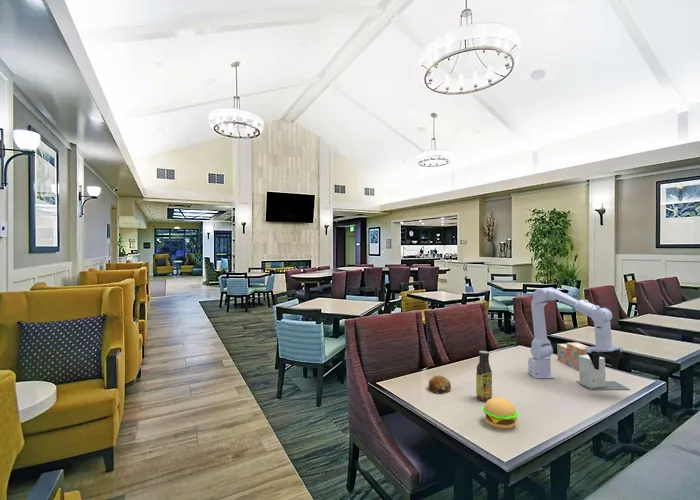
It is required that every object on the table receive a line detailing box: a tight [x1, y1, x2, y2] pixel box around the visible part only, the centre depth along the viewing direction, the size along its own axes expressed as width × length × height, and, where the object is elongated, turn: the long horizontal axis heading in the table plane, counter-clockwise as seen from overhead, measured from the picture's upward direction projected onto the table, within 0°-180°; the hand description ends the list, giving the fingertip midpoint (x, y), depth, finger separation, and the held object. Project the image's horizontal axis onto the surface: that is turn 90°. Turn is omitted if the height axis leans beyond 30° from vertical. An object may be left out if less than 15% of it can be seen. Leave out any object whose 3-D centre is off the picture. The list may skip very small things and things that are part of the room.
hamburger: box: [482, 397, 519, 430], centre depth 126 cm, size 12×12×9 cm
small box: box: [578, 355, 607, 388], centre depth 158 cm, size 8×6×13 cm
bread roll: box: [428, 374, 452, 394], centre depth 158 cm, size 10×10×8 cm
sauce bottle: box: [475, 350, 493, 402], centre depth 147 cm, size 6×6×20 cm
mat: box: [575, 380, 631, 391], centre depth 158 cm, size 18×10×1 cm, turn 86°
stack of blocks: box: [556, 342, 589, 372], centre depth 186 cm, size 21×6×12 cm, turn 179°
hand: (605, 368), depth 148 cm, fingers open, 7 cm apart
